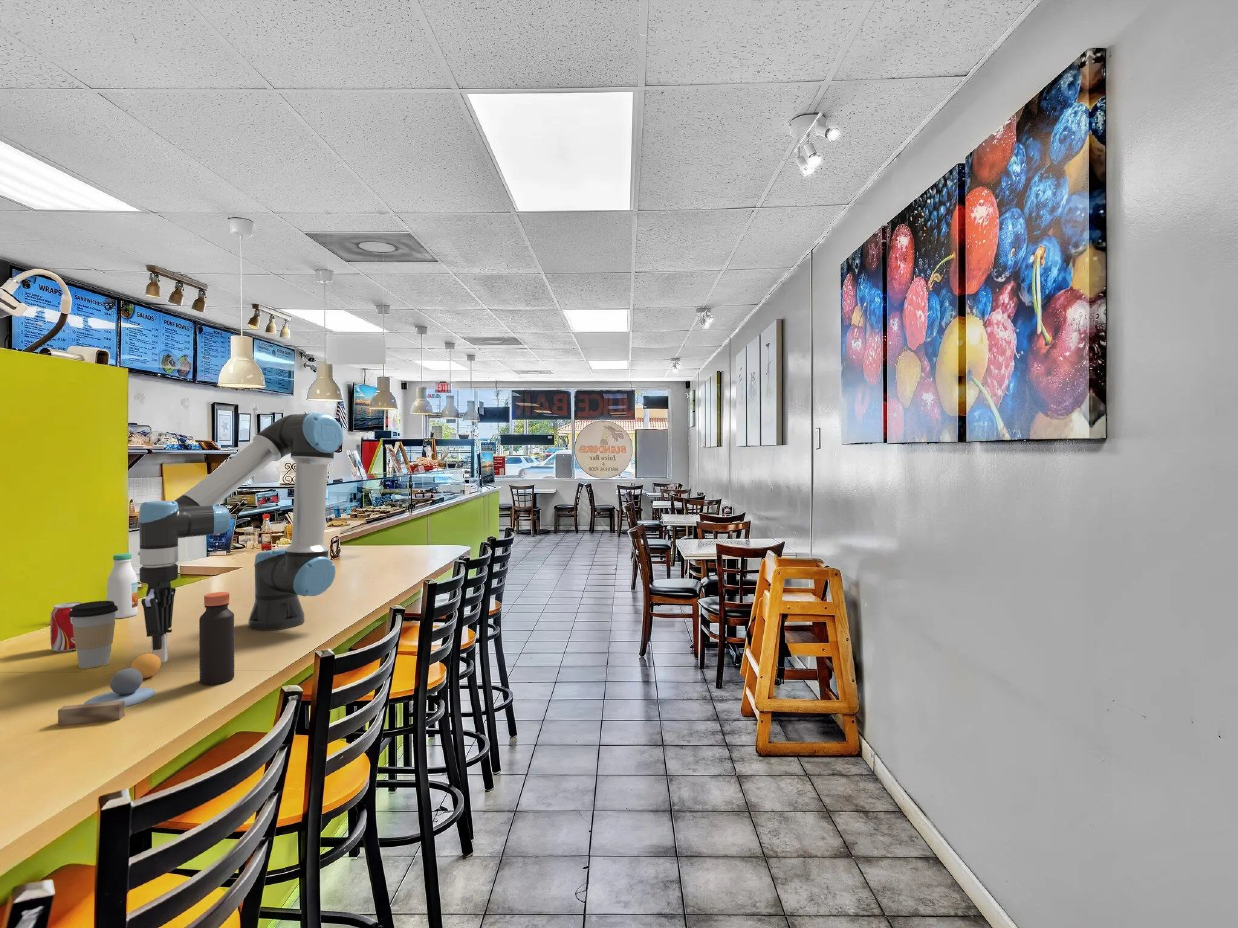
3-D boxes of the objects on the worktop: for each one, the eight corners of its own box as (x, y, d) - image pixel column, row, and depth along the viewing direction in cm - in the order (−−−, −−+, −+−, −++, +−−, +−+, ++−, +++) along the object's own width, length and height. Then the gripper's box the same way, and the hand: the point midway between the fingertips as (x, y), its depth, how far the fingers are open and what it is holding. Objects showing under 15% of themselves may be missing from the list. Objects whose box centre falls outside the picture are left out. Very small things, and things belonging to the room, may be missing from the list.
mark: (165, 685, 139) (165, 685, 139) (139, 706, 127) (139, 705, 127) (101, 691, 136) (101, 690, 136) (69, 713, 124) (69, 712, 124)
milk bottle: (124, 619, 194) (124, 556, 194) (100, 619, 195) (100, 555, 194) (143, 613, 202) (143, 552, 202) (120, 612, 202) (120, 552, 202)
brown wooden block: (124, 715, 123) (124, 700, 123) (119, 719, 121) (119, 704, 121) (64, 720, 121) (64, 705, 120) (58, 725, 119) (57, 709, 119)
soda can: (64, 654, 160) (64, 608, 160) (43, 652, 162) (42, 606, 162) (92, 646, 167) (92, 602, 167) (72, 644, 169) (71, 600, 169)
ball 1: (145, 661, 137) (133, 677, 132) (148, 682, 138) (137, 698, 133) (115, 664, 135) (103, 679, 130) (119, 685, 137) (107, 701, 132)
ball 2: (153, 653, 143) (152, 678, 142) (165, 650, 148) (165, 674, 147) (126, 656, 141) (125, 681, 141) (140, 653, 147) (139, 677, 146)
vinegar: (210, 675, 146) (210, 591, 146) (240, 674, 146) (240, 590, 146) (192, 685, 139) (192, 597, 139) (223, 685, 139) (223, 597, 139)
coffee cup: (127, 660, 156) (127, 601, 156) (84, 673, 147) (84, 610, 147) (102, 656, 159) (102, 598, 159) (59, 668, 150) (58, 607, 150)
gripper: (153, 560, 155) (153, 654, 155) (127, 570, 142) (128, 671, 142) (187, 559, 157) (188, 651, 157) (165, 568, 144) (165, 668, 145)
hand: (159, 661), depth 150 cm, fingers closed
